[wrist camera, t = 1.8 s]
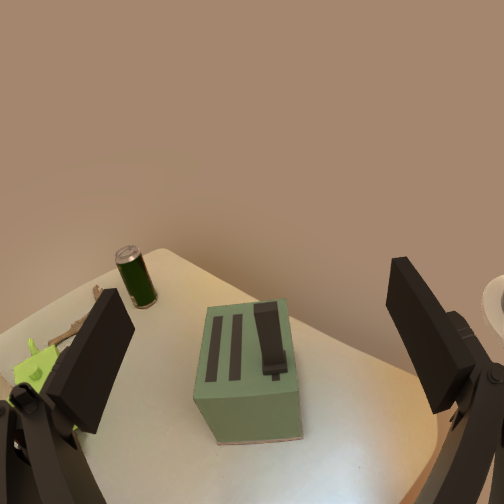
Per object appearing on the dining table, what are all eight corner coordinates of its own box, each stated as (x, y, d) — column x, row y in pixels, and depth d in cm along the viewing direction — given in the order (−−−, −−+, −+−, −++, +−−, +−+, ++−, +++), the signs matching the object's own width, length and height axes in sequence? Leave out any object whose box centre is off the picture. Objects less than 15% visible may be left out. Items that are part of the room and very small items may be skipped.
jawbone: (126, 295, 64) (124, 288, 63) (75, 361, 47) (71, 354, 46) (98, 290, 66) (95, 283, 65) (48, 349, 49) (43, 342, 48)
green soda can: (144, 312, 57) (123, 261, 51) (129, 305, 60) (108, 256, 54) (162, 297, 61) (144, 246, 55) (146, 290, 64) (128, 242, 58)
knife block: (292, 353, 43) (287, 296, 38) (303, 439, 31) (301, 392, 25) (223, 360, 44) (206, 306, 39) (217, 445, 32) (190, 400, 26)
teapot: (88, 458, 29) (41, 418, 24) (27, 441, 30) (-15, 401, 25) (113, 378, 42) (82, 331, 37) (56, 374, 43) (25, 332, 38)
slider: (285, 354, 30) (278, 295, 26) (287, 372, 28) (281, 314, 24) (262, 357, 30) (251, 299, 26) (263, 375, 28) (250, 318, 24)
